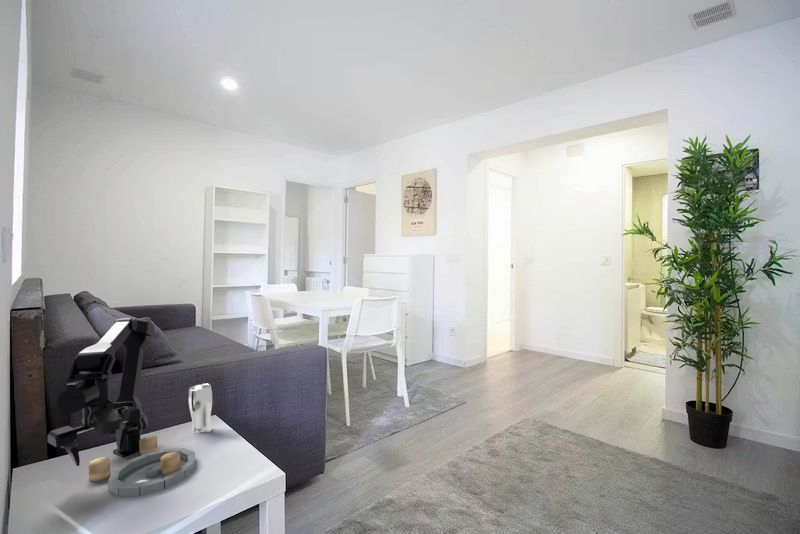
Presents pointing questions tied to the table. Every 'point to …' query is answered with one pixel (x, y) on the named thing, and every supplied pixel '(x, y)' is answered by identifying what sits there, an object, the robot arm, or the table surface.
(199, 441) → the table surface
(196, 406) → the beer glass
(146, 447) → the bead
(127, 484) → the tray
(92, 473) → the bead
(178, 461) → the tan short rounded cylinder
